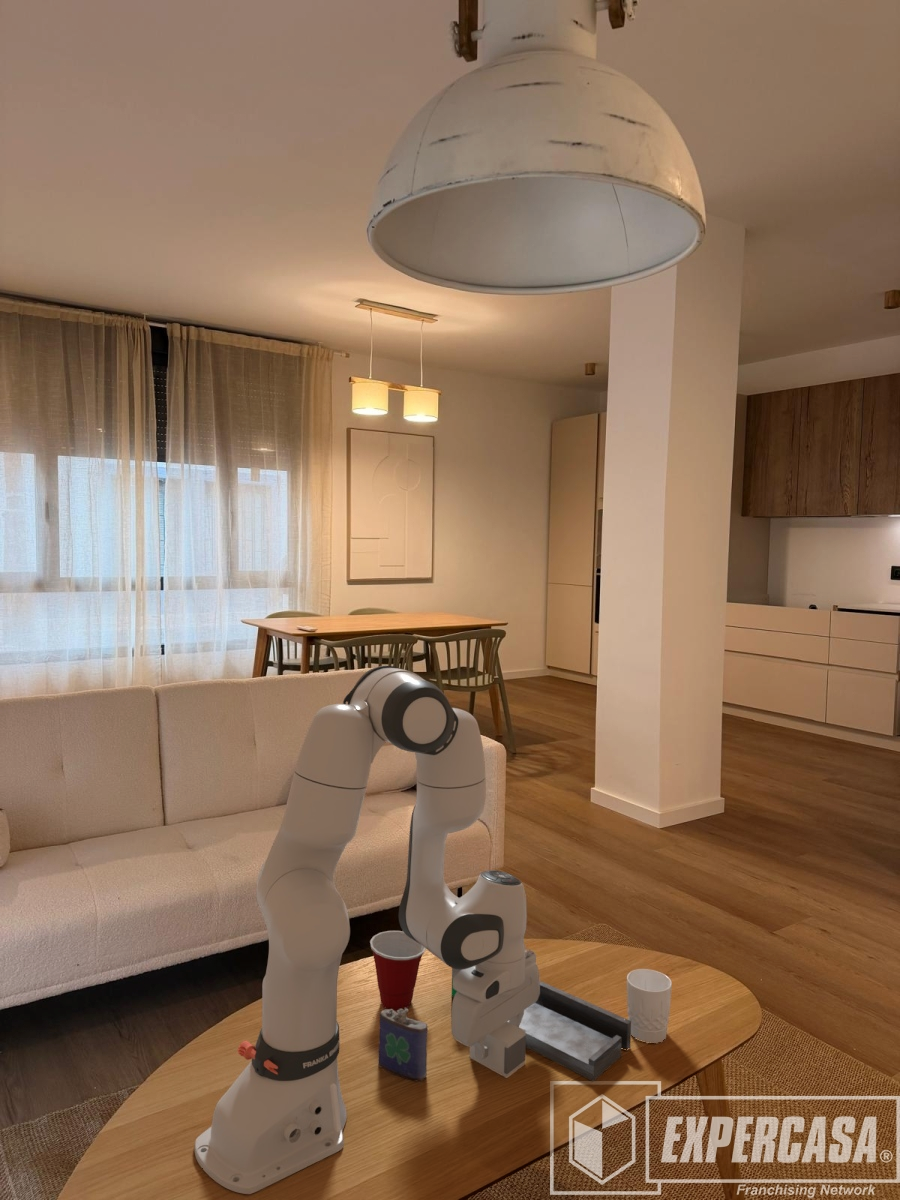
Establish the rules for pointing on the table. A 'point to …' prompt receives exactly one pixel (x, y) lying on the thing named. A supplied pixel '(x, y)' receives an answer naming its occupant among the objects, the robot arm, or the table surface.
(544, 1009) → the dark grey tray
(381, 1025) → the flask
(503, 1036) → the block
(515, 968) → the robot arm
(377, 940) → the plastic cup
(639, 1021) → the white cup
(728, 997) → the table surface
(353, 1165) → the table surface
